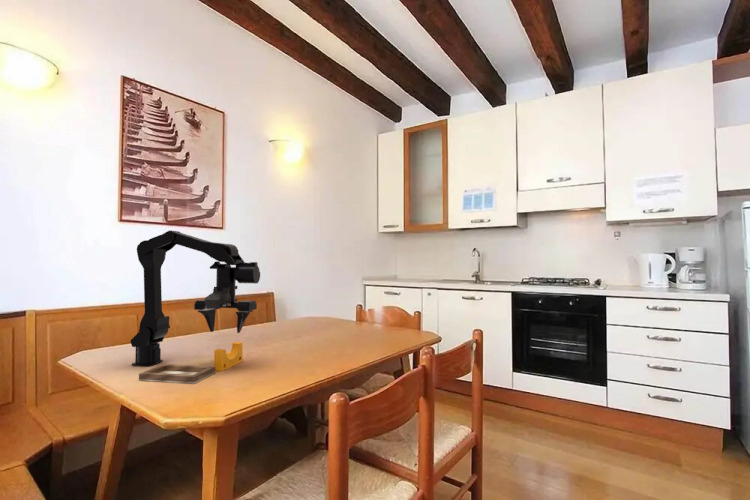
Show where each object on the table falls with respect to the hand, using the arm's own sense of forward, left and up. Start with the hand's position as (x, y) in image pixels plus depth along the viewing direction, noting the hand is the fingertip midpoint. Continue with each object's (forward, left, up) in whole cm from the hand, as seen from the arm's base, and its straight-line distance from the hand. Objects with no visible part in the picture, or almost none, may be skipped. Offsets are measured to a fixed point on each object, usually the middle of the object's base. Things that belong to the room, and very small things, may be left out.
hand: (225, 332), depth 124 cm
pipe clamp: (+1, 0, -11) cm, 11 cm away
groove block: (-7, -13, -11) cm, 18 cm away
